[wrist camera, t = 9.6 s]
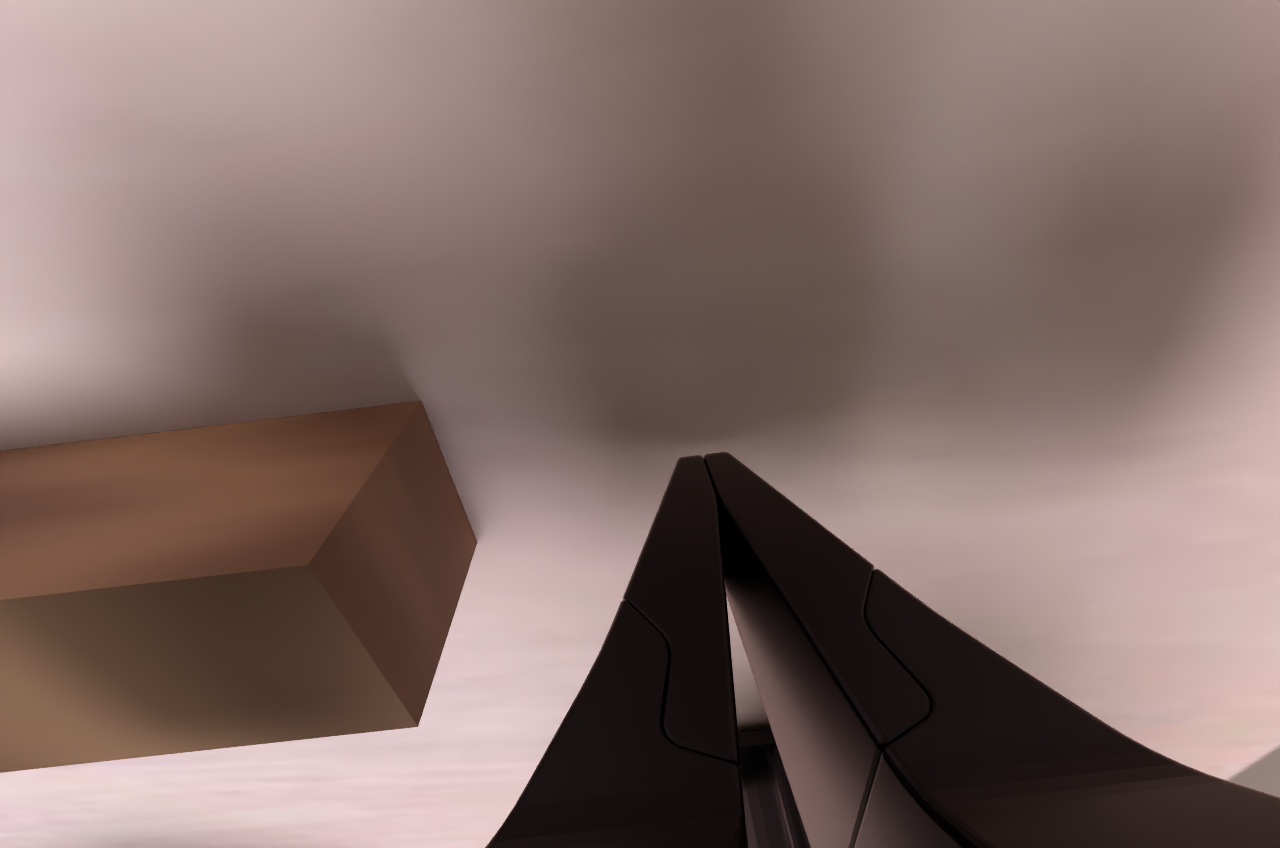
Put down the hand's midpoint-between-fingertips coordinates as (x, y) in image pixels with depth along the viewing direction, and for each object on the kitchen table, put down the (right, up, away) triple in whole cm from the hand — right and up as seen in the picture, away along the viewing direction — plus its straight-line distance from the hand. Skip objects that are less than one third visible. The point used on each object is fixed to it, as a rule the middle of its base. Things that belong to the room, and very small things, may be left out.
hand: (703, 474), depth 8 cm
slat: (-12, -1, +1) cm, 12 cm away
